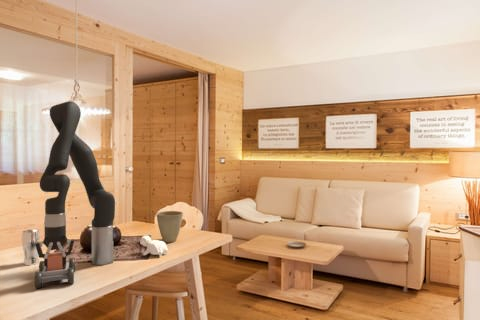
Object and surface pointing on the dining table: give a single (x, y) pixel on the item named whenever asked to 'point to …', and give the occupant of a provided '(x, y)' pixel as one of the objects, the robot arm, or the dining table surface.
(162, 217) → the plant pot
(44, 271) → the chassis
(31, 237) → the beer glass
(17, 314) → the dining table surface
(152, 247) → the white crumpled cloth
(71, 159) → the robot arm
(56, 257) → the terracotta rectangular box
